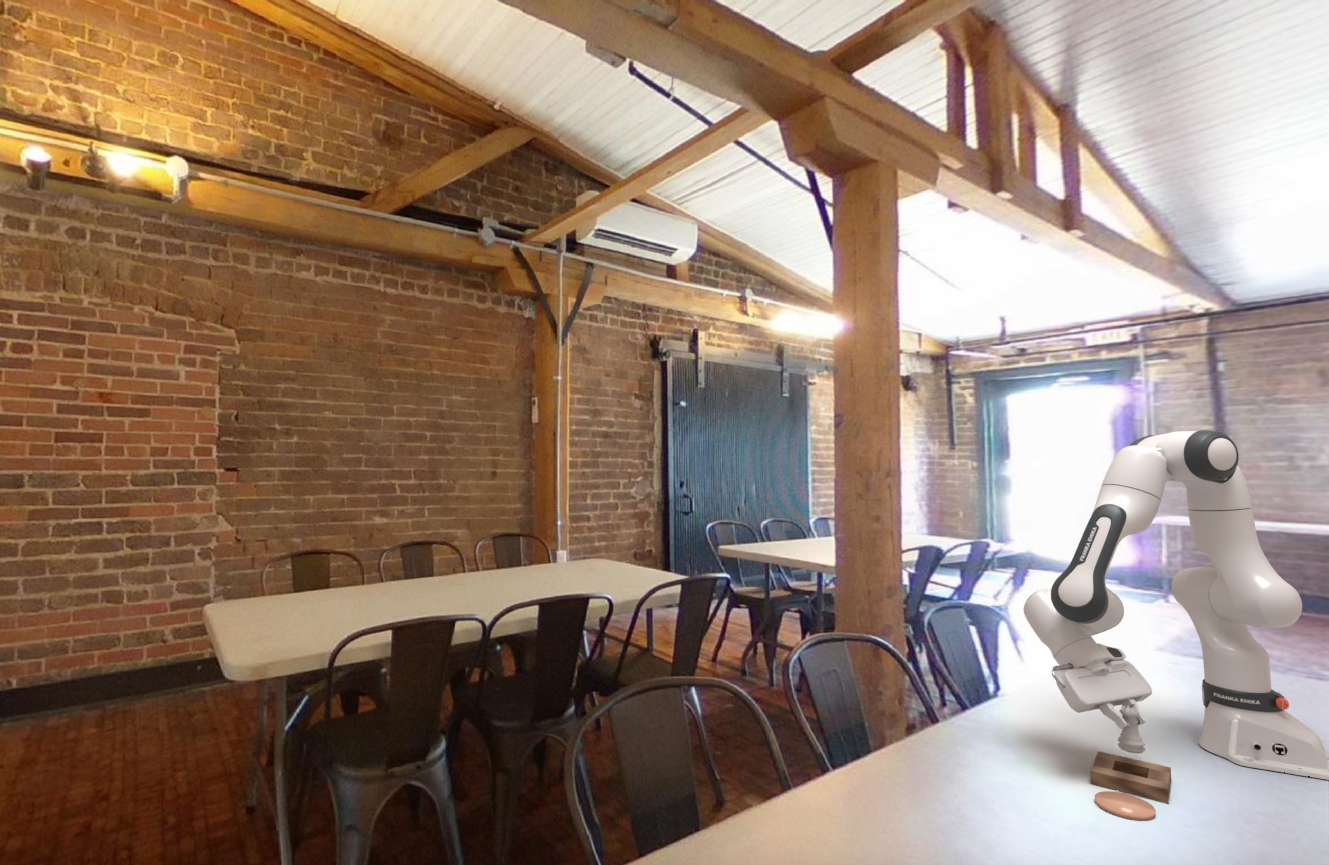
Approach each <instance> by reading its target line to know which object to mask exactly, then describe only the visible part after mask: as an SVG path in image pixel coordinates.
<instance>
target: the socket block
mask: <svg viewBox="0 0 1329 865" xmlns="http://www.w3.org/2000/svg"><path fill="white" fill-rule="evenodd" d="M1089 771H1090V772H1089V777H1090V778H1089V779H1090V784H1091V785H1094V786H1097V785H1100V786H1099V787H1101V786H1103V787H1102V788H1105V789H1109V788H1110V790H1112V791H1113V790H1114V791H1116V790H1118V791H1117V792H1120V793H1125V794H1129V795H1132V796H1135V797H1139V798H1140V797H1141V798H1144V799H1148V800H1154V801H1157V802H1161V803H1164V804H1169V802H1170V793H1171V787H1172V786H1171V785H1172V767H1171V766H1167V765H1161V764H1158V763H1152V762H1148V761H1143V760H1139V759H1134V758H1131V757H1126V756H1121V755H1117V754H1113V753H1107V752H1104V751H1097V753H1096V755H1095V757H1094V761H1093V763H1092V765H1091V767H1090V770H1089Z"/></svg>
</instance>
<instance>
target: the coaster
mask: <svg viewBox="0 0 1329 865" xmlns="http://www.w3.org/2000/svg"><path fill="white" fill-rule="evenodd" d="M1094 803H1095V805H1096V804H1097V805H1096V806H1097V807H1098V806H1099V807H1098V808H1099V809H1101V808H1102V809H1101V810H1103V811H1104V810H1105V812H1106V813H1108V812H1109V813H1108V814H1111V815H1112V816H1116V817H1120V818H1123V819H1127V820H1131V821H1141V822H1143V821H1151V820H1154V819H1155V818H1156V816H1157V813H1156V812H1157V811H1156V807H1154V806H1153V805H1152V803H1150V802H1149V801H1146V800H1145V799H1143V798H1140V797H1139V796H1136V795H1132V794H1128V793H1124V792H1120V791H1113V790H1110V791H1109V790H1108V791H1107V790H1106V791H1103V790H1102V791H1098V792H1097V793H1095V794H1094Z"/></svg>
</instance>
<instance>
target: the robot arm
mask: <svg viewBox="0 0 1329 865" xmlns="http://www.w3.org/2000/svg"><path fill="white" fill-rule="evenodd" d="M1239 456H1240V455H1239V450H1238V447H1237V445H1236V443H1234V441H1233V440H1232V439H1231V437H1229V435H1227V434H1226V433H1224V432H1221V431H1218V430H1217V431H1216V430H1209V429H1200V430H1179V431H1170V432H1168V433H1162V434H1157V435H1153V434H1151V435H1147V436H1143V437H1139V438H1137V439H1135V440H1134V441H1133V442H1131V443H1130V445H1128V446H1125V447H1123V448H1121V449H1120V450H1119V451H1117V453H1116V455H1115V457H1113V459H1112V462H1111V463H1110V465H1109V467H1108V469H1107V471H1106V473H1105V475H1104V478H1103V480H1102V483H1101V486H1100V489H1099V492H1098V496H1097V498H1096V501H1095V505H1094V508H1093V511H1092V512H1091V516H1090V517H1089V520H1088V522H1087V524H1086V526H1085V528H1084V531H1083V533H1082V536H1081V538H1080V539H1079V543H1078V545H1077V548H1076V549H1075V552H1074V554H1073V557H1072V559H1071V561H1070V564H1068V566H1067V567H1066V569H1065V570H1064V571H1062V573H1061V574H1060V575H1058V577H1057V578H1056V579H1055V580H1054V582H1053V584H1052V586H1051V588H1050V589H1048V588H1042V589H1039V590H1038V591H1037V590H1036V591H1035V592H1033V593H1032V594H1031V595H1030V596H1029V597H1028V598H1027V599H1026V601H1025V602H1024V606H1023V615H1024V617H1025V619H1026V621H1027V622H1028V624H1029V626H1030V627H1031V629H1032V630H1033V632H1034V633H1035V635H1036V636H1037V638H1039V641H1040V642H1042V643H1043V644H1044V645H1045V646H1046V647H1047V648H1048V649H1049V650H1050V652H1051V655H1052V657H1053V659H1054V660H1055V662H1056V663H1057V664H1058V665H1053V667H1052V669H1051V675H1052V677H1053V679H1054V680H1055V683H1056V686H1057V688H1058V690H1059V692H1060V693H1061V695H1062V696H1063V698H1064V700H1065V701H1066V703H1067V704H1068V707H1069V708H1071V710H1073V711H1075V713H1084V712H1089V711H1095V710H1099V711H1100V712H1101V713H1102V714H1103V715H1104V716H1105V717H1107V718H1108V719H1110V720H1111V721H1112V722H1114V724H1115V725H1116V726H1117V728H1118V729H1120V730H1122V729H1124V728H1127V727H1129V726H1130V725H1131V724H1130V722H1129V721H1128V720H1127V718H1126V717H1125V716H1122V714H1121V713H1120V712H1118V711H1116V710H1115V707H1117V706H1125V708H1127V706H1130V708H1131V709H1132V707H1135V708H1137V711H1138V713H1139V714H1140V715H1139V716H1138V717H1137V720H1138V726H1143V724H1145V723H1146V719H1145V718H1144V717H1143V715H1142V714H1141V712H1140V709H1139V705H1138V702H1142V701H1144V700H1146V699H1148V698H1149V697H1150V696H1151V695H1152V694H1153V691H1152V687H1151V685H1150V684H1149V682H1148V681H1147V680H1146V678H1145V677H1144V676H1143V675H1142V673H1141V672H1140V671H1139V670H1138V669H1137V668H1136V667H1135V666H1134V664H1132V663H1131V662H1130V661H1128V660H1126V658H1127V655H1126V654H1125V652H1123V650H1122V649H1120V648H1117V647H1112V646H1108V645H1105V644H1102V643H1097V642H1096V641H1095V639H1094V638H1093V637H1092V636H1095V635H1098V634H1101V633H1104V632H1106V631H1109V630H1111V629H1114V628H1115V627H1116V626H1118V625H1119V624H1120V623H1121V622H1122V621H1123V618H1124V614H1125V609H1124V605H1123V602H1122V600H1121V598H1120V597H1119V596H1118V595H1117V594H1116V593H1114V592H1113V591H1112V590H1111V589H1110V588H1108V587H1107V583H1106V577H1107V574H1108V571H1109V568H1110V565H1111V563H1112V560H1113V558H1114V556H1115V554H1116V552H1117V548H1118V546H1119V545H1120V542H1121V541H1122V540H1123V539H1124V538H1126V537H1128V536H1131V535H1136V534H1140V533H1143V532H1144V531H1146V530H1148V529H1149V528H1150V526H1151V524H1152V523H1153V522H1154V519H1155V518H1156V516H1157V513H1158V511H1159V508H1160V505H1161V503H1162V502H1161V501H1162V499H1163V495H1164V492H1165V491H1164V490H1165V487H1166V483H1167V482H1174V483H1175V482H1177V483H1178V482H1179V483H1181V482H1182V483H1183V485H1184V486H1185V488H1186V505H1187V511H1188V512H1187V513H1188V520H1189V526H1190V531H1191V532H1190V534H1191V538H1192V539H1191V540H1192V542H1193V545H1194V546H1195V547H1196V548H1197V549H1198V550H1199V551H1201V552H1203V554H1204V555H1205V556H1206V557H1207V558H1208V559H1209V561H1210V562H1211V564H1212V566H1213V567H1210V566H1209V567H1208V566H1198V567H1197V566H1195V567H1194V566H1193V567H1187V568H1183V569H1181V570H1179V571H1178V572H1177V573H1176V574H1175V575H1174V576H1173V578H1172V581H1171V593H1172V596H1173V598H1174V599H1175V600H1176V602H1177V603H1178V604H1179V605H1180V606H1181V607H1182V608H1183V609H1184V610H1185V611H1186V613H1187V614H1188V616H1189V618H1190V620H1191V622H1192V623H1193V626H1194V628H1195V630H1196V632H1197V636H1198V638H1199V642H1200V646H1201V652H1202V653H1201V654H1202V662H1203V676H1204V678H1203V680H1202V682H1201V683H1202V684H1201V697H1202V699H1201V700H1202V703H1203V706H1204V714H1203V715H1204V716H1203V721H1202V722H1203V724H1202V729H1201V733H1200V737H1199V740H1198V745H1199V746H1200V747H1202V748H1203V749H1205V750H1206V751H1207V752H1210V753H1212V754H1215V755H1216V756H1219V757H1222V758H1225V759H1227V760H1229V761H1230V762H1232V763H1234V764H1236V765H1239V766H1243V767H1248V768H1253V769H1254V768H1255V769H1260V770H1266V771H1273V772H1279V773H1284V772H1285V774H1290V775H1296V776H1304V777H1308V776H1310V778H1314V779H1322V780H1326V781H1329V756H1328V755H1327V753H1326V749H1325V746H1324V744H1323V742H1322V740H1321V738H1320V737H1319V735H1318V734H1317V733H1316V732H1315V731H1314V730H1312V729H1311V728H1310V727H1308V726H1307V725H1306V724H1304V723H1303V722H1302V721H1300V720H1299V719H1298V718H1297V717H1295V716H1294V715H1293V714H1291V713H1289V712H1288V711H1286V710H1288V708H1290V703H1289V701H1288V699H1286V697H1285V696H1283V695H1282V694H1281V693H1280V691H1278V692H1277V691H1275V690H1274V689H1272V680H1271V679H1272V678H1271V665H1270V664H1271V663H1270V656H1269V653H1268V651H1267V650H1266V649H1265V647H1263V645H1261V643H1259V642H1258V641H1257V640H1256V639H1255V637H1254V636H1253V635H1252V633H1251V632H1250V630H1249V628H1248V626H1251V627H1254V628H1255V627H1256V628H1264V629H1265V628H1267V629H1269V628H1270V629H1278V628H1279V629H1282V628H1283V629H1284V628H1288V627H1289V628H1290V627H1291V626H1293V625H1294V624H1295V623H1296V622H1297V621H1298V620H1299V618H1300V617H1301V615H1302V611H1303V600H1302V598H1301V596H1300V594H1299V592H1298V591H1297V590H1296V588H1295V587H1293V586H1292V585H1291V584H1290V583H1288V582H1287V581H1286V580H1284V579H1283V578H1282V577H1281V576H1280V575H1279V574H1278V572H1277V571H1276V570H1275V569H1274V568H1273V566H1272V565H1271V563H1270V562H1269V560H1268V559H1267V557H1266V555H1265V553H1264V551H1263V549H1262V547H1261V544H1260V542H1259V539H1258V533H1257V528H1256V522H1255V516H1254V512H1253V505H1252V499H1251V495H1250V491H1249V488H1248V484H1247V481H1246V479H1245V477H1244V474H1243V472H1242V469H1241V467H1240V466H1239Z"/></svg>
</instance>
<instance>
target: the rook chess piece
mask: <svg viewBox="0 0 1329 865" xmlns="http://www.w3.org/2000/svg"><path fill="white" fill-rule="evenodd" d="M1120 706H1121V709H1119V714H1120V715H1121V716H1125V717H1126V718H1127V720H1128V721H1129V722H1130V724H1131V725H1130V726H1129V727H1127V728H1124V729H1121V733H1120V736H1118V737H1117V741H1118V743H1117V746H1118V747H1119V748H1120V750H1122V751H1124V752H1127V753H1131V754H1143V753H1144V752H1145V751H1146V748H1145V747H1144V746H1145V742H1144V740H1143V739H1142V737H1141V735H1140V730H1139V727H1138V720H1137V717H1138V716H1139V715H1140V714H1141V713H1140V714H1139V713H1138V711H1137V708H1135V707H1132V709H1131V708H1130V706H1127V708H1125V706H1122V705H1120Z"/></svg>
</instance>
